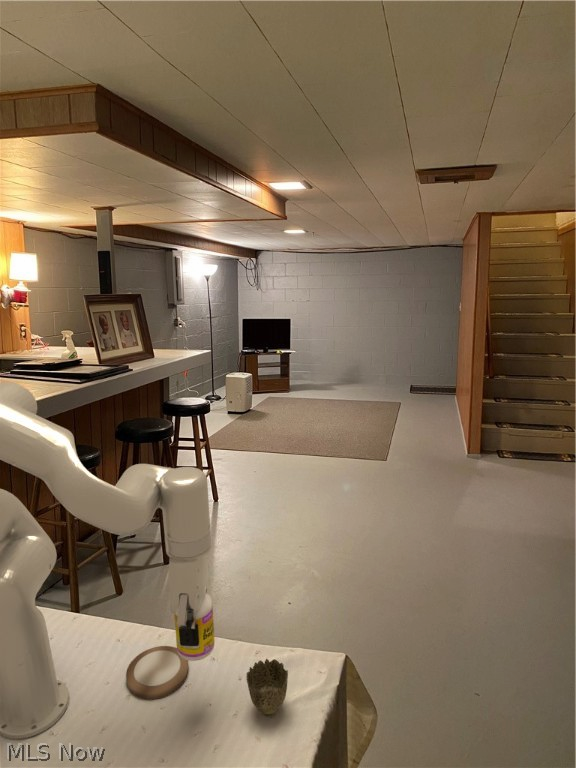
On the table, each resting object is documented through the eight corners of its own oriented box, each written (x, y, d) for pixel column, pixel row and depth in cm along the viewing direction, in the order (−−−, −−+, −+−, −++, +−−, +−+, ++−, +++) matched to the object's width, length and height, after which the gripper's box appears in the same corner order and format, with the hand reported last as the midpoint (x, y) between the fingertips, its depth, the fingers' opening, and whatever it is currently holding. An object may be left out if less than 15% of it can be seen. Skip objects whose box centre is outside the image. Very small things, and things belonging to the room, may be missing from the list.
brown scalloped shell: (242, 702, 104) (239, 667, 102) (278, 687, 107) (276, 652, 105) (259, 733, 98) (256, 697, 95) (296, 716, 101) (295, 680, 98)
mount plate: (117, 698, 106) (116, 691, 105) (138, 651, 117) (137, 644, 117) (180, 700, 105) (179, 692, 104) (194, 652, 116) (194, 645, 116)
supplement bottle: (207, 665, 96) (203, 602, 92) (171, 660, 97) (165, 597, 94) (219, 637, 102) (216, 577, 99) (185, 633, 104) (181, 573, 100)
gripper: (179, 513, 102) (185, 596, 107) (150, 571, 86) (159, 666, 91) (220, 514, 102) (224, 598, 107) (199, 572, 85) (205, 668, 90)
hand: (194, 628), depth 99 cm, fingers closed on supplement bottle, 6 cm apart
